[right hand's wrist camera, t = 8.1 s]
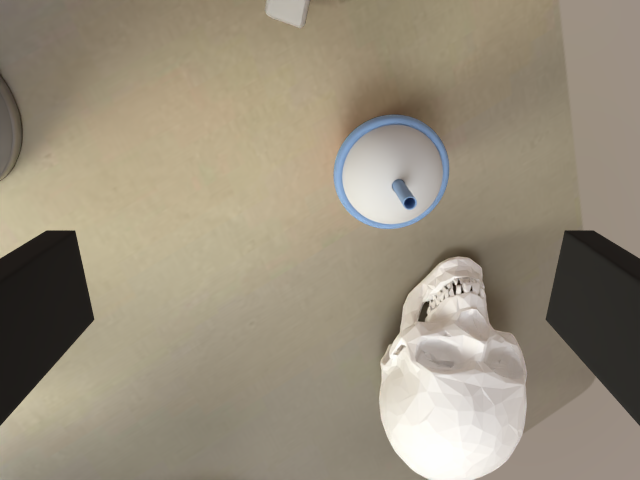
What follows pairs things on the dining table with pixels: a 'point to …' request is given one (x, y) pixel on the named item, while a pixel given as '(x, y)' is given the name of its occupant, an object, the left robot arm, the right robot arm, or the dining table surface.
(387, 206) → the cup with straw
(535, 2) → the dining table surface
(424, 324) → the skull
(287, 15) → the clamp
